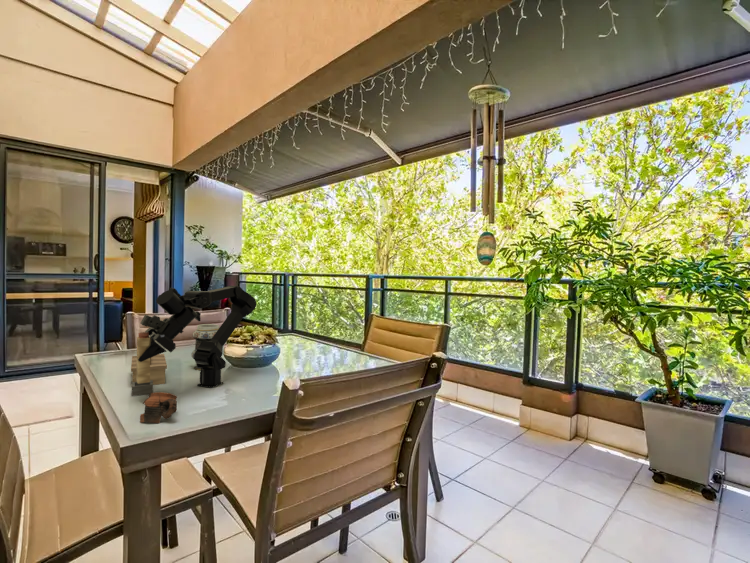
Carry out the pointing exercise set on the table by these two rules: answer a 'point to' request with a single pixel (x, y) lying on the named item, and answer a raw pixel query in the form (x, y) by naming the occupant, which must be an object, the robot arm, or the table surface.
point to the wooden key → (144, 366)
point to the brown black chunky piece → (158, 407)
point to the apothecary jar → (203, 335)
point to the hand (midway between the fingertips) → (138, 359)
